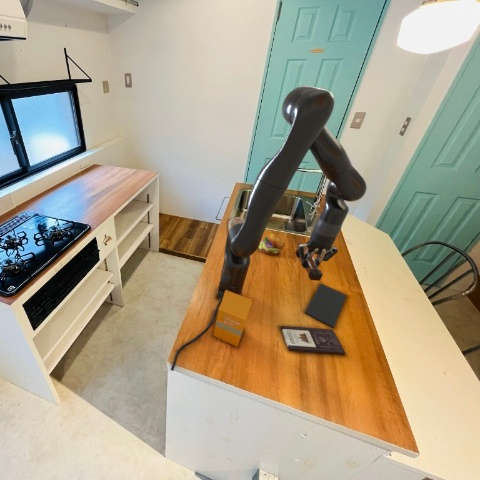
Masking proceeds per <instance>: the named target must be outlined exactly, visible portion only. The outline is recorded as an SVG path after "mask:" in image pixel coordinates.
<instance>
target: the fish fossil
mask: <svg viewBox="0 0 480 480" xmlns="http://www.w3.org/2000/svg"><path fill="white" fill-rule="evenodd" d="M244 220H245V218H244V217H241V216H235V217H232V218H231V219H229V220H228V222H227V232H229V230H230V229H231V227H232V226H234V225H235V224H238V223H244Z"/></svg>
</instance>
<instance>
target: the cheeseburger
mask: <svg viewBox="0 0 480 480" xmlns="http://www.w3.org/2000/svg"><path fill="white" fill-rule="evenodd" d="M285 246H286V241H285V240H284V239H283V238H282V237H279V236H278V235H277V234H276V233H269V234H267V236H265V237H264V238H263V239H262V240H261V241H260V244H259V246H258V249H259V251H260V252H263V253H265V254H266V255H267V254H268V255H271V256H275V255H277V254H278V253H279V252H280V251H281V250H283V249H284V248H285Z"/></svg>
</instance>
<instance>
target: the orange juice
mask: <svg viewBox="0 0 480 480" xmlns="http://www.w3.org/2000/svg"><path fill="white" fill-rule="evenodd" d="M252 304H253V299H252V298H249V297H246V296H244V295H242V294H241V295H238V294H235V293H233V292H230V291H227V290H225V293H224V296H223V299H222V302H221V304H220V306H219V308H218V311H217V316H216V321H215V325H214V330H213V334H212V336H213V337H215V338H217V339H220V340H221V341H223V342H226V343H228V344H231V345H232V346H234V347H238V346H239V343H240V340H241V337H242V335H243V332H244V329H245V326H246V322H247V319H248V317H249V314H250V310H251V307H252Z"/></svg>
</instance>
